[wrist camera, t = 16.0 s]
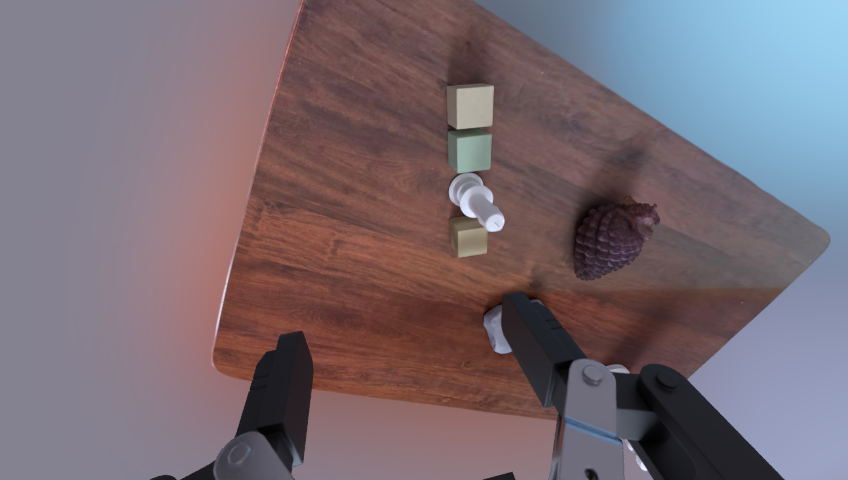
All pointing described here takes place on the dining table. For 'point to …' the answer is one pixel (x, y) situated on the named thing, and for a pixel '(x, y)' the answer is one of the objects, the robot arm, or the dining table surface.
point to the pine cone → (612, 237)
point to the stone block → (497, 329)
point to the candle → (476, 201)
